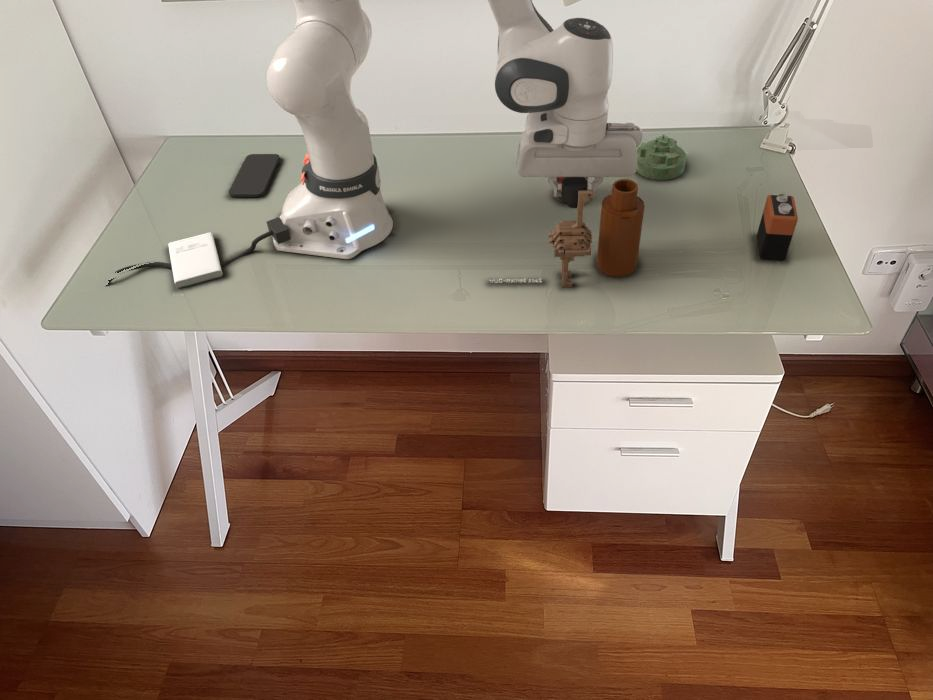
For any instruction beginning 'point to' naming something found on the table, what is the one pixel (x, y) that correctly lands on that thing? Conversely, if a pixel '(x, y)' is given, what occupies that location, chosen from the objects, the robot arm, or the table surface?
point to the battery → (776, 227)
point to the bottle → (620, 229)
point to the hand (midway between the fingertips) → (573, 195)
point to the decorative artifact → (660, 159)
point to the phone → (254, 175)
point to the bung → (573, 189)
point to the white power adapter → (194, 260)
